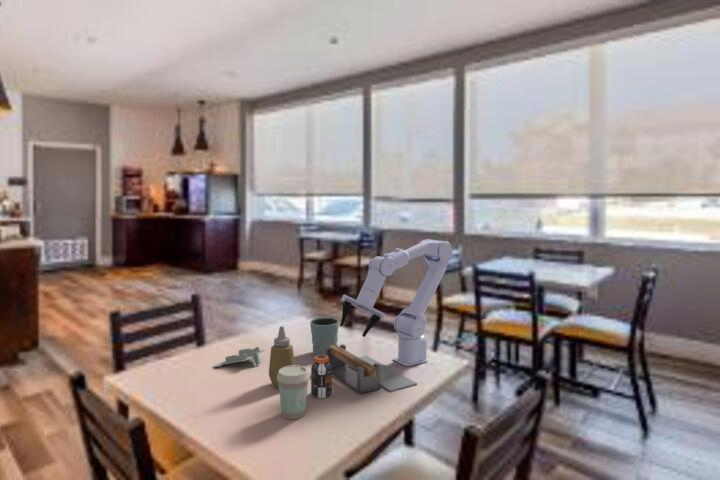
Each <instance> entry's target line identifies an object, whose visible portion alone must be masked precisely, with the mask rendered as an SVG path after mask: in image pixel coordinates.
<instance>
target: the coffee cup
mask: <svg viewBox="0 0 720 480" xmlns="http://www.w3.org/2000/svg"><path fill="white" fill-rule="evenodd" d="M309 379H311V376H310V373H309V370H308V368H307V367H306V366H303V365H296V364H295V365H290V366H285V367H283V368H281V369H280V370H279V372H278V374H277V380H278V386H279V388H278V394H279V399H280V407H281V415H282V417H283V418H284V419H285V420H298V419H301V418H303V417H304V415H305V414H306V413H305V411H306V405H307V404H306V401H307V394H308V387H309Z"/></svg>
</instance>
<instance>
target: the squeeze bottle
mask: <svg viewBox="0 0 720 480" xmlns="http://www.w3.org/2000/svg"><path fill="white" fill-rule="evenodd" d="M295 362H296V361H295V354H294V347H293V345H292V344H291V340H290V337H288V336H286V331H285V327H284V326H283V325H282V326H279V329H278V335H277V336H276V337H274V338H273V345H271V347H270V356H269V366H268V367H269V368H268V376H269V379H270V383H271V385H272V387H273V388H275V389H279V386H278V380H277V374H278V372H279V370H280V369H281V368H283V367H285V366H290V365H296V364H295Z"/></svg>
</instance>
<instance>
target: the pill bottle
mask: <svg viewBox="0 0 720 480" xmlns="http://www.w3.org/2000/svg"><path fill="white" fill-rule="evenodd" d="M310 369H311V370H310V371H311V373H310V375H311V376H310V394H311V396H312V397H313V398H316V399H326V398H329V397H331V395H333V391H332V390H333V385H332V384H333V383H332V382H333V375H332V365H331V364H330V363H329V357H328V356H327V355H317V356H315V355H314V362H313V363H312V364H311V367H310Z"/></svg>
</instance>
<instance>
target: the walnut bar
mask: <svg viewBox="0 0 720 480" xmlns="http://www.w3.org/2000/svg"><path fill="white" fill-rule="evenodd" d="M329 348H330V349H331V355H333V356H335V357H336V358H338V359H339V360H341V361H343V362H344V363H346V364H348V365H349V366H351V367H353V368H354V369H356V370H357V367H362V368H364V375H366V376H367V377H373V376H376V367H375V366H373V365H371V364H369V363H367V362H366V361H364V360H362V359H360V358H359V357H360V356H357V355H356V354H355V355H354V354H353V353H351V352H350V351H348V350H347V349H346V350H344V349H343V348H341V347H340V345H338V344H337V345H330V346H329ZM349 366H348V367H349ZM351 367H350V368H351ZM354 369H353V370H354ZM356 370H355V371H356Z"/></svg>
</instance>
